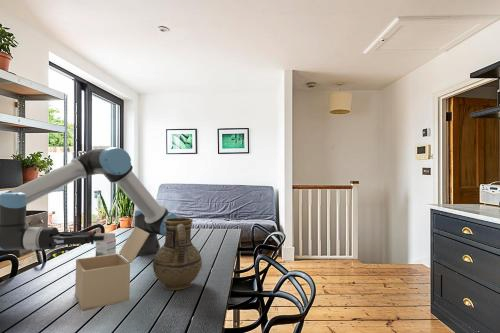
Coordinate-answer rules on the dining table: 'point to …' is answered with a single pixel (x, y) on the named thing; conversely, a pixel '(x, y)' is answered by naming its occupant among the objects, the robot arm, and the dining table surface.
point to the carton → (102, 281)
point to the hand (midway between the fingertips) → (114, 237)
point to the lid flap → (133, 244)
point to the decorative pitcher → (177, 256)
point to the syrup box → (105, 248)
